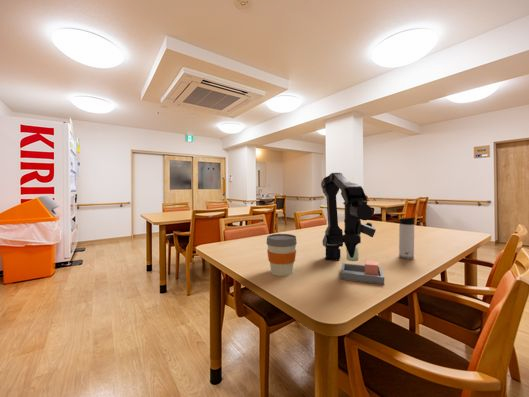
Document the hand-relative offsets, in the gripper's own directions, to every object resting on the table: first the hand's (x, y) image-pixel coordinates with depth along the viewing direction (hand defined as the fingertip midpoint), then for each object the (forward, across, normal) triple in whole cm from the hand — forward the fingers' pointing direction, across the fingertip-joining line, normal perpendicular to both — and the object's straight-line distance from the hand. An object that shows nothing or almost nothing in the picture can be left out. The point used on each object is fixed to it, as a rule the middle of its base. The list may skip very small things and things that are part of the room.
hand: (352, 255), depth 94 cm
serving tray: (+8, 0, -4) cm, 9 cm away
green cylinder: (+2, 0, 0) cm, 2 cm away
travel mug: (+8, +33, -24) cm, 42 cm away
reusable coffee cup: (+8, -6, +28) cm, 29 cm away
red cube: (+7, 0, -7) cm, 10 cm away
